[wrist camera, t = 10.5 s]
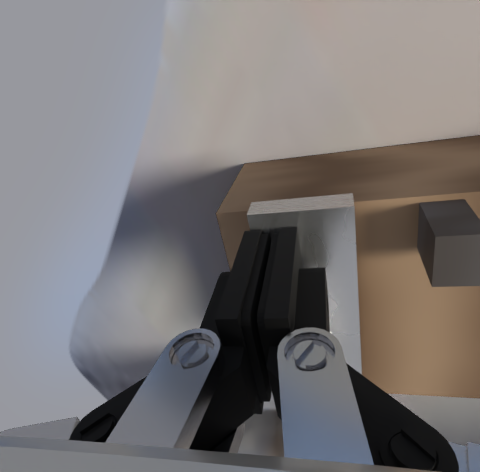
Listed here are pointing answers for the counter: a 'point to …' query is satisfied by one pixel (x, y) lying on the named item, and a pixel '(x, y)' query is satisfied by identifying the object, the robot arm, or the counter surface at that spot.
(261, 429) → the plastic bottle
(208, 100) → the counter surface
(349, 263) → the strap
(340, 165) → the block
